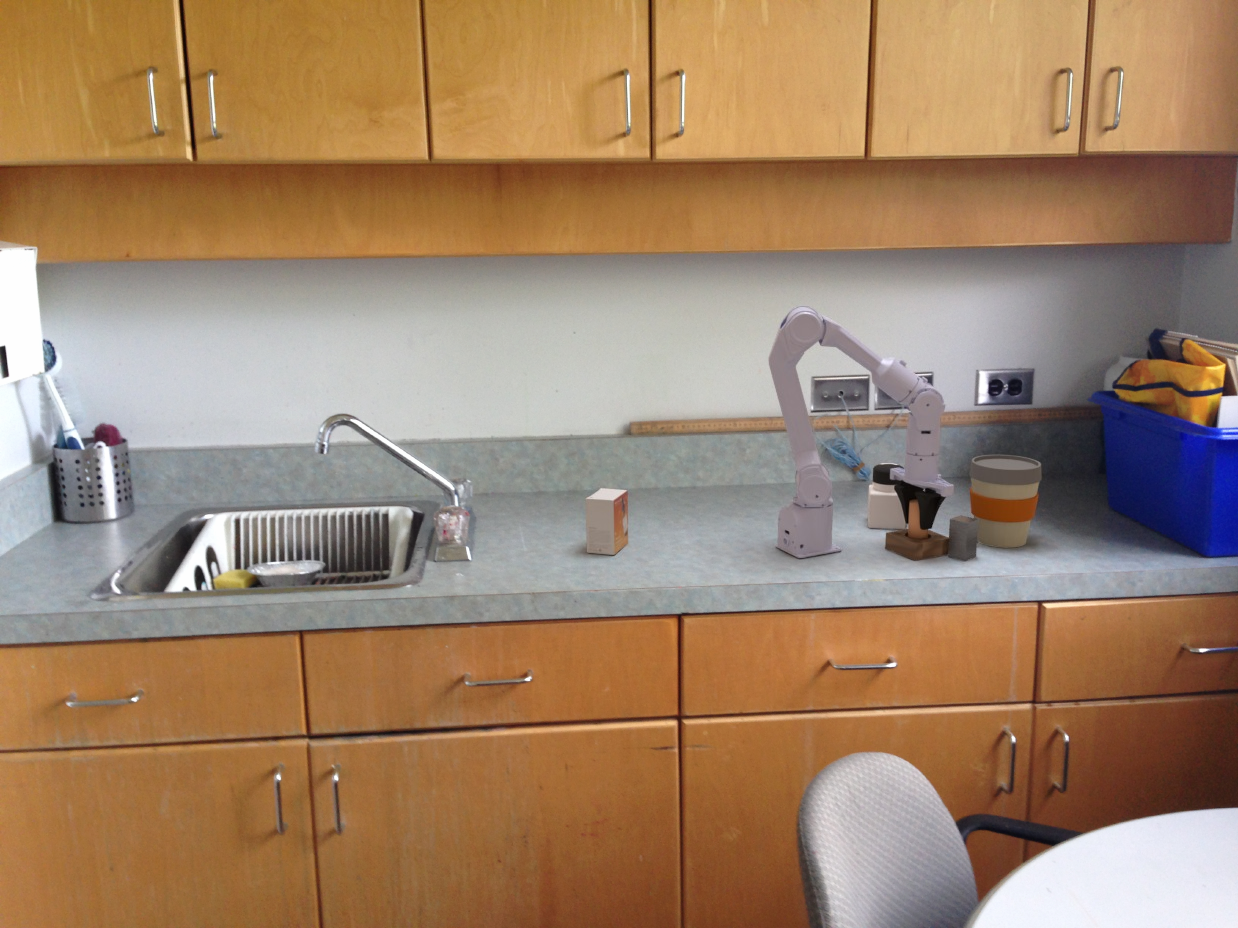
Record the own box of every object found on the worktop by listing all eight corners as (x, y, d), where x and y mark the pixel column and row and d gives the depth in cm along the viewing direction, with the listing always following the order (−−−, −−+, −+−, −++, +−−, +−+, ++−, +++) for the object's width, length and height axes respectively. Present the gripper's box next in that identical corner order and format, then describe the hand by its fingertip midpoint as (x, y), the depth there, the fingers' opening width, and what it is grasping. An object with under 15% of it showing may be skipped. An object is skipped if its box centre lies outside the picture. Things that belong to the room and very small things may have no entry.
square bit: (965, 561, 182) (967, 523, 181) (947, 556, 185) (949, 518, 183) (976, 556, 184) (978, 519, 183) (958, 552, 187) (961, 515, 185)
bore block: (914, 560, 183) (915, 544, 182) (885, 548, 190) (885, 532, 189) (949, 554, 186) (950, 538, 185) (919, 541, 193) (920, 526, 192)
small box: (614, 556, 188) (613, 500, 186) (586, 553, 190) (584, 498, 188) (629, 543, 196) (628, 489, 193) (601, 540, 197) (600, 487, 195)
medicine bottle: (906, 530, 200) (909, 470, 198) (868, 528, 202) (870, 468, 199) (903, 519, 207) (906, 461, 204) (867, 518, 209) (869, 460, 206)
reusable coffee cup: (997, 554, 186) (1002, 473, 182) (950, 535, 197) (955, 458, 193) (1051, 545, 190) (1058, 465, 186) (1003, 526, 201) (1008, 451, 198)
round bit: (917, 543, 185) (918, 505, 183) (903, 538, 188) (905, 501, 186) (932, 540, 187) (934, 502, 185) (918, 535, 190) (920, 498, 188)
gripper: (969, 458, 179) (964, 533, 182) (912, 442, 192) (909, 512, 195) (937, 462, 176) (932, 539, 179) (882, 446, 189) (879, 518, 192)
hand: (918, 525), depth 187 cm, fingers closed on round bit, 3 cm apart
